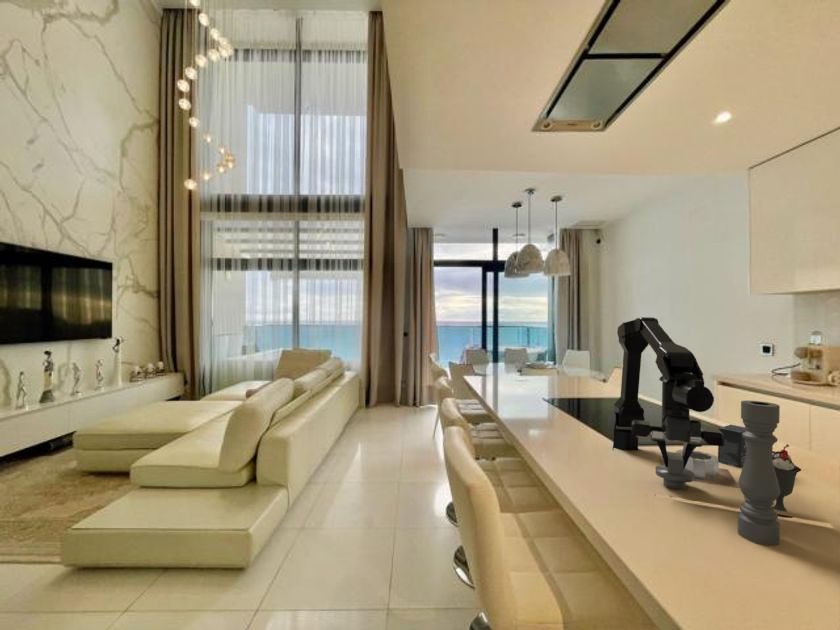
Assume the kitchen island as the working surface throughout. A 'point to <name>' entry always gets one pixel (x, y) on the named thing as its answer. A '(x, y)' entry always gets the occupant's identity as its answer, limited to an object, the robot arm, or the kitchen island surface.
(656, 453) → the kitchen island surface
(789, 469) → the sundae
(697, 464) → the toothed hollow cylinder
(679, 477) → the lens cap
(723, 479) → the stand
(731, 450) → the box
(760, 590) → the kitchen island surface
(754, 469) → the candle holder
